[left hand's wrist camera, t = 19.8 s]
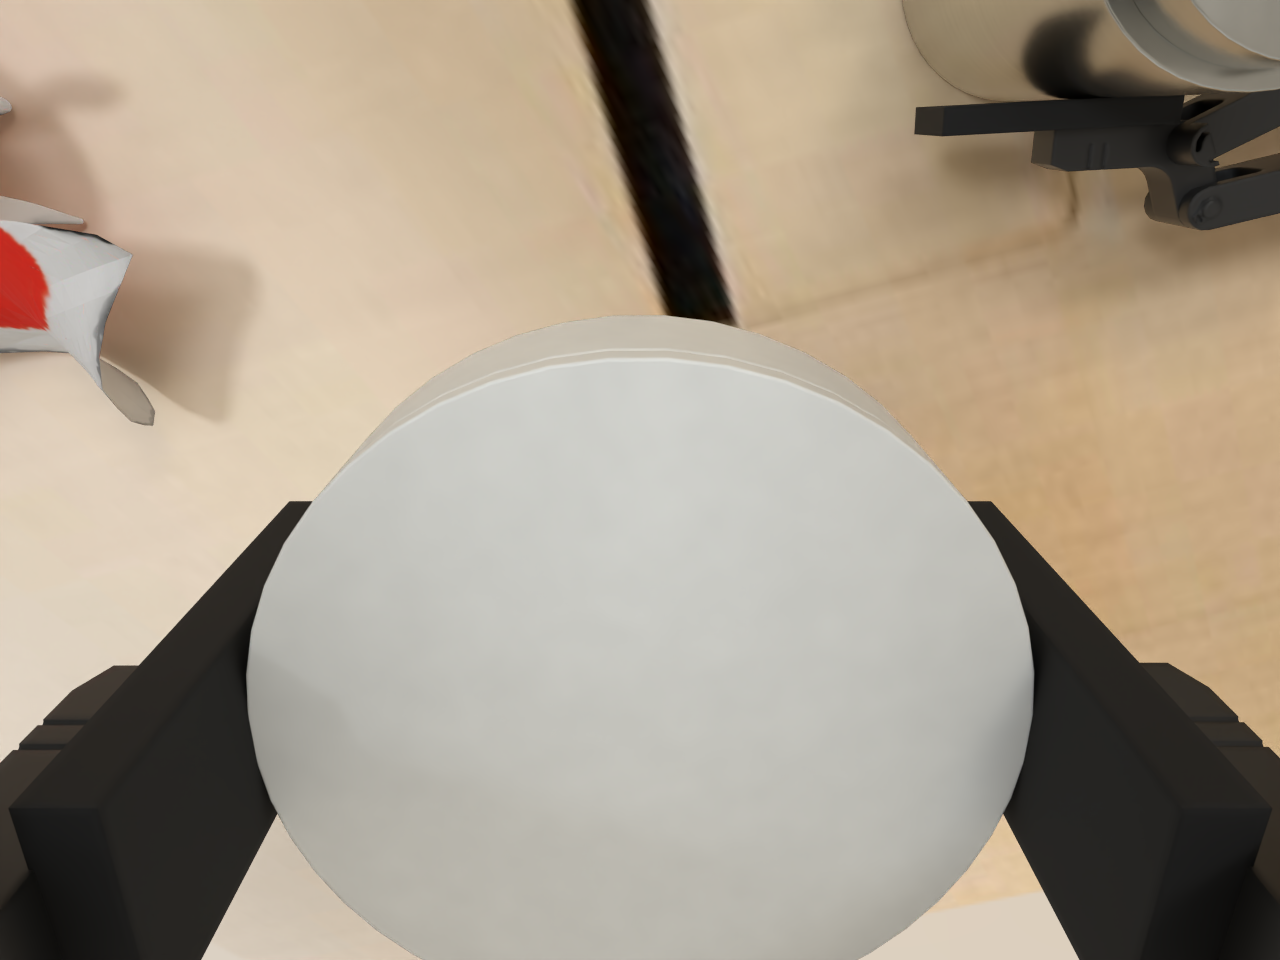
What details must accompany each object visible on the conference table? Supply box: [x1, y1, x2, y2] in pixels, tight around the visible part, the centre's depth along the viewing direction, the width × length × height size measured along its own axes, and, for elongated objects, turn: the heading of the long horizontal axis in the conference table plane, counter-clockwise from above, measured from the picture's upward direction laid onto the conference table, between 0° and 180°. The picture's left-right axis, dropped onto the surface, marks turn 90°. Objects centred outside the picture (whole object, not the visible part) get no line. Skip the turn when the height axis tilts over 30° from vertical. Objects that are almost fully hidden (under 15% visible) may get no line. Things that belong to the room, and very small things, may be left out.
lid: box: [246, 315, 1034, 960], centre depth 12 cm, size 9×9×2 cm
